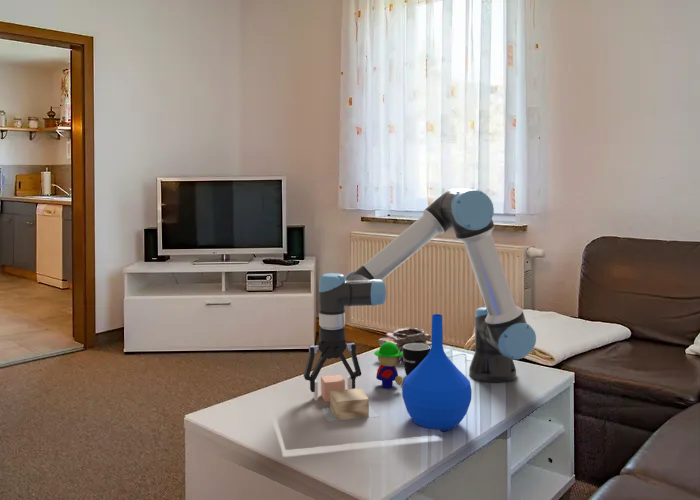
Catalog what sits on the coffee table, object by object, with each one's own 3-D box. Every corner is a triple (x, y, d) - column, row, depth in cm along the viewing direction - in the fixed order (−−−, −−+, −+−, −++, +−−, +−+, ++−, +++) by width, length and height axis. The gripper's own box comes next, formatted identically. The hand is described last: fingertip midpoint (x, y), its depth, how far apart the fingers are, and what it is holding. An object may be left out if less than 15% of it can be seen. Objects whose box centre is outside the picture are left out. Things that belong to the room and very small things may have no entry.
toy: (402, 396, 196) (402, 347, 194) (371, 394, 197) (371, 346, 196) (406, 384, 206) (406, 338, 204) (377, 383, 208) (376, 337, 206)
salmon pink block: (340, 397, 195) (340, 374, 195) (345, 404, 190) (344, 380, 189) (321, 399, 194) (320, 376, 193) (324, 405, 188) (324, 382, 188)
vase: (422, 407, 186) (423, 305, 183) (482, 420, 176) (484, 313, 172) (389, 428, 171) (389, 317, 168) (452, 444, 161) (453, 326, 157)
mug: (397, 375, 216) (397, 345, 214) (417, 370, 221) (417, 341, 220) (421, 384, 206) (421, 353, 205) (442, 379, 211) (442, 349, 210)
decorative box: (440, 359, 235) (440, 332, 233) (393, 367, 225) (393, 340, 224) (419, 350, 246) (419, 325, 245) (374, 357, 237) (373, 331, 236)
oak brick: (361, 405, 185) (360, 388, 184) (368, 416, 176) (368, 398, 176) (330, 408, 183) (329, 390, 182) (336, 419, 174) (336, 401, 174)
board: (369, 408, 186) (369, 403, 186) (378, 420, 176) (378, 416, 176) (321, 412, 183) (321, 408, 183) (327, 425, 173) (327, 421, 173)
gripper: (365, 321, 195) (366, 393, 198) (292, 325, 190) (293, 399, 193) (372, 327, 188) (372, 401, 191) (296, 331, 183) (297, 408, 186)
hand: (332, 400), depth 192 cm, fingers open, 10 cm apart
